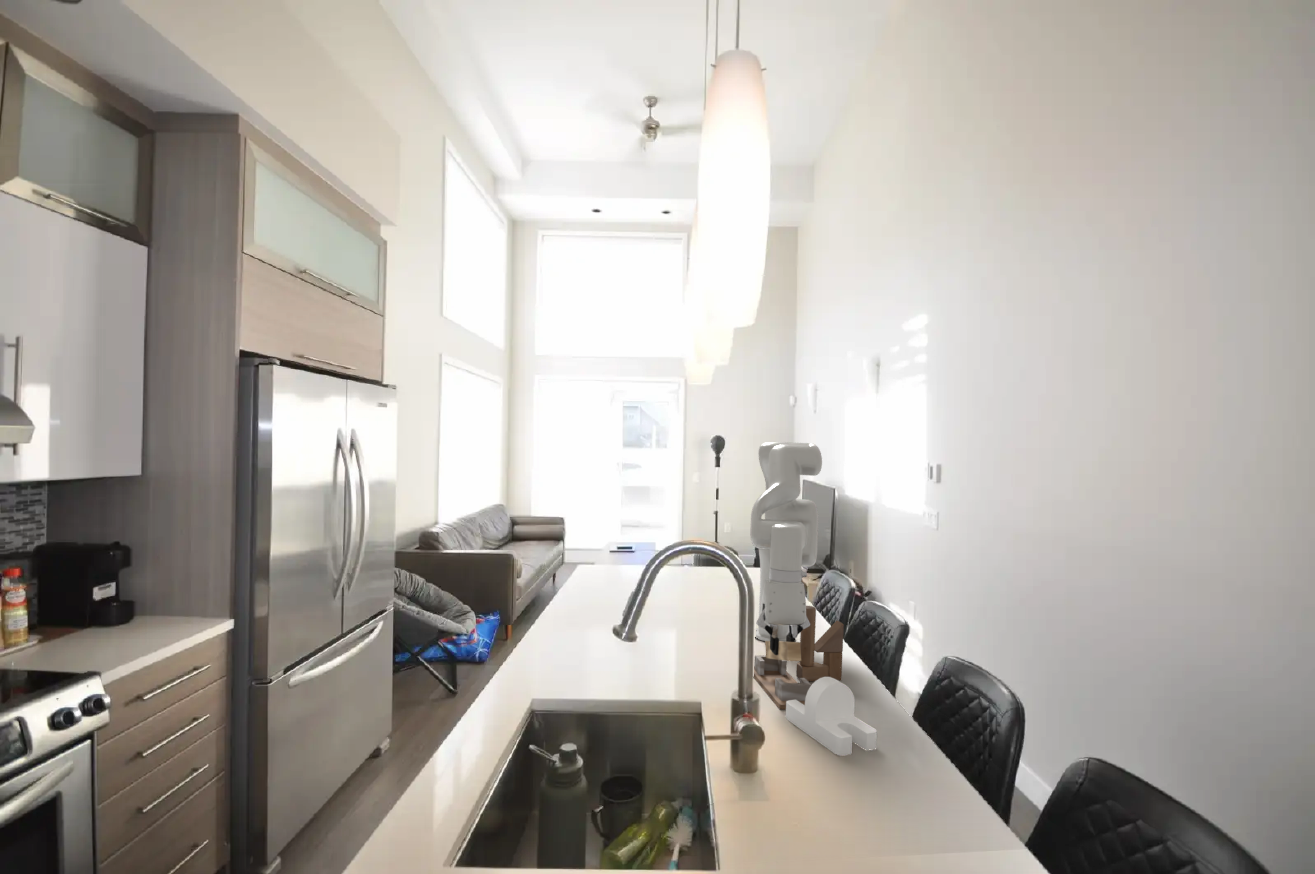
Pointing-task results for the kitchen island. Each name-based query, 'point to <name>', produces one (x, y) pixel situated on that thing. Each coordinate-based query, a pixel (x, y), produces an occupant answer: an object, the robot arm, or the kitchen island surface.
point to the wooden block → (820, 650)
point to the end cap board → (779, 681)
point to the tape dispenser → (831, 717)
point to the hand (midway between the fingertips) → (782, 652)
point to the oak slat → (785, 651)
